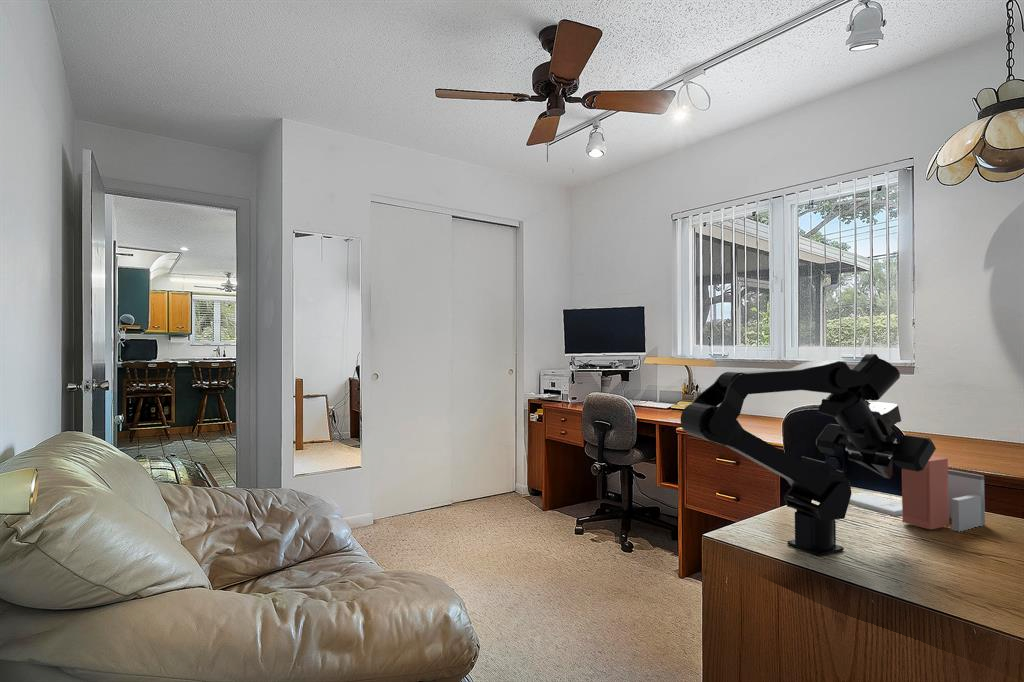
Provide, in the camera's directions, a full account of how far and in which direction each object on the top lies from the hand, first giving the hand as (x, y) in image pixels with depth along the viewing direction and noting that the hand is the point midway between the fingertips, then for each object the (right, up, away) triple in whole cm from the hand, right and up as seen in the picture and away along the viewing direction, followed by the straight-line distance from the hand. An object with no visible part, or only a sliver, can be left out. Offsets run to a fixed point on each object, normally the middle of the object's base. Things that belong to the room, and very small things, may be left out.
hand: (889, 476), depth 102 cm
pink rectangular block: (+10, -11, +4) cm, 15 cm away
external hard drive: (+10, -12, +18) cm, 24 cm away
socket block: (+16, -11, +7) cm, 21 cm away
